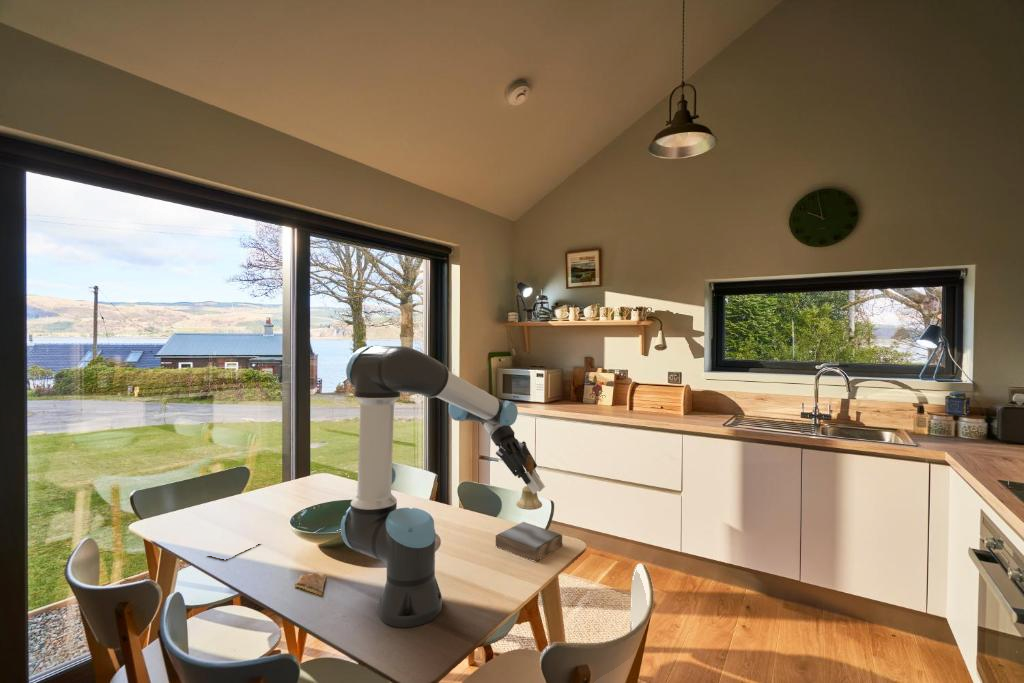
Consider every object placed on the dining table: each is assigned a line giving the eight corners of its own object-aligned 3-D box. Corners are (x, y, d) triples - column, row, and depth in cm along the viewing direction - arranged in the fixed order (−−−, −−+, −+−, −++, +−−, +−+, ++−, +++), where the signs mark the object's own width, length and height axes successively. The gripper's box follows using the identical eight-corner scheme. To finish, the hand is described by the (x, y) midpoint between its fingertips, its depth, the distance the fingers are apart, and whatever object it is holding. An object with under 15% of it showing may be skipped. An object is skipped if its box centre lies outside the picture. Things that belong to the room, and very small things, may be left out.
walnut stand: (535, 562, 142) (535, 548, 142) (495, 546, 152) (495, 534, 152) (562, 546, 153) (562, 533, 152) (523, 532, 163) (523, 521, 163)
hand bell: (543, 509, 148) (544, 458, 148) (517, 509, 148) (517, 458, 148) (540, 500, 157) (541, 452, 156) (515, 500, 156) (516, 452, 156)
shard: (322, 598, 123) (322, 591, 123) (290, 602, 121) (290, 595, 121) (326, 577, 134) (326, 571, 134) (297, 581, 132) (297, 574, 132)
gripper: (508, 433, 168) (546, 490, 157) (477, 441, 156) (517, 503, 146) (520, 420, 164) (560, 477, 154) (489, 427, 152) (531, 490, 142)
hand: (539, 490), depth 150 cm, fingers closed on hand bell, 2 cm apart
